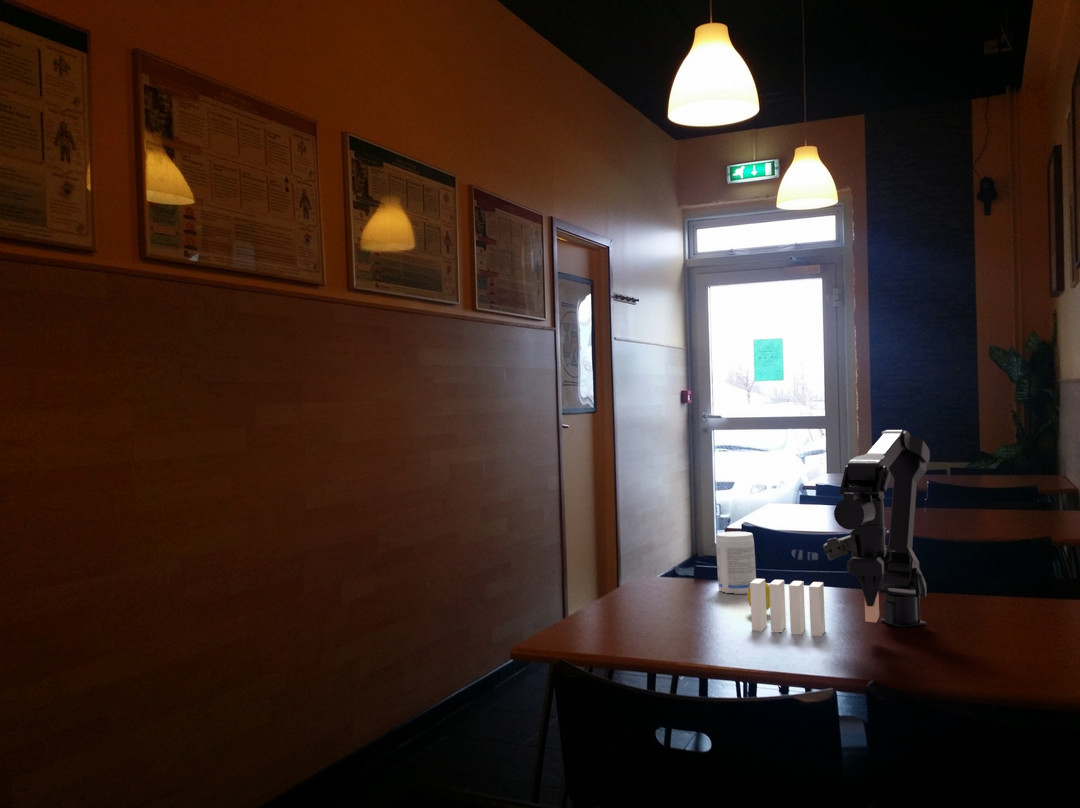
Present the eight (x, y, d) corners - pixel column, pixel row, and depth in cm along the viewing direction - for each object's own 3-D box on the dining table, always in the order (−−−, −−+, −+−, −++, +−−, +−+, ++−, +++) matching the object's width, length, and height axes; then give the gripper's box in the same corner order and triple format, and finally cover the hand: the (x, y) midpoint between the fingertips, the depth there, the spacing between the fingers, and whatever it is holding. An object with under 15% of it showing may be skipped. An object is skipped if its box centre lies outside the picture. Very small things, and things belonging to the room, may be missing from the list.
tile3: (805, 629, 180) (803, 581, 180) (800, 634, 175) (798, 585, 176) (795, 628, 181) (793, 580, 181) (790, 633, 176) (788, 585, 177)
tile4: (786, 627, 182) (784, 580, 182) (780, 633, 177) (779, 584, 177) (776, 626, 183) (774, 579, 183) (771, 632, 178) (769, 584, 178)
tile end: (767, 625, 184) (765, 579, 184) (761, 631, 179) (759, 583, 179) (757, 625, 185) (755, 578, 185) (751, 630, 180) (750, 582, 180)
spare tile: (879, 616, 170) (877, 565, 170) (876, 622, 165) (874, 570, 165) (868, 615, 171) (866, 565, 171) (865, 621, 166) (863, 569, 166)
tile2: (825, 630, 178) (823, 582, 178) (821, 636, 174) (819, 587, 174) (815, 629, 179) (813, 581, 179) (810, 635, 175) (808, 586, 175)
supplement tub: (763, 590, 219) (761, 532, 219) (743, 596, 213) (741, 537, 213) (731, 585, 226) (729, 530, 226) (710, 592, 220) (708, 534, 220)
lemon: (774, 617, 191) (772, 581, 191) (748, 617, 192) (747, 581, 192) (772, 611, 196) (771, 576, 196) (747, 611, 197) (746, 576, 197)
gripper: (833, 516, 180) (836, 591, 180) (817, 528, 164) (820, 610, 163) (890, 518, 175) (893, 594, 175) (880, 530, 158) (883, 615, 158)
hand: (871, 603), depth 168 cm, fingers closed on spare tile, 5 cm apart
